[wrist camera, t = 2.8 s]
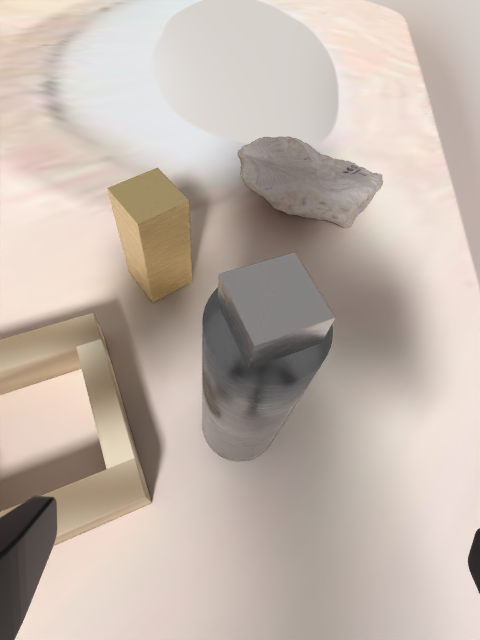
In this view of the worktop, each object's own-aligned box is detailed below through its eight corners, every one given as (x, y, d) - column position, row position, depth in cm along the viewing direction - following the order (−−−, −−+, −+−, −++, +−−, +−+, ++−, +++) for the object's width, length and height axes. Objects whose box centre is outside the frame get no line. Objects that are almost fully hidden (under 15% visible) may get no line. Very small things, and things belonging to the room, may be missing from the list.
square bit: (192, 281, 26) (189, 200, 20) (153, 302, 25) (137, 224, 19) (167, 252, 27) (157, 167, 21) (129, 272, 26) (107, 188, 20)
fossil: (244, 125, 30) (379, 95, 27) (264, 195, 35) (381, 177, 32) (222, 190, 25) (385, 164, 22) (249, 262, 30) (386, 249, 27)
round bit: (287, 443, 21) (376, 333, 10) (218, 473, 20) (237, 385, 9) (256, 379, 23) (305, 226, 12) (192, 403, 22) (182, 260, 11)
